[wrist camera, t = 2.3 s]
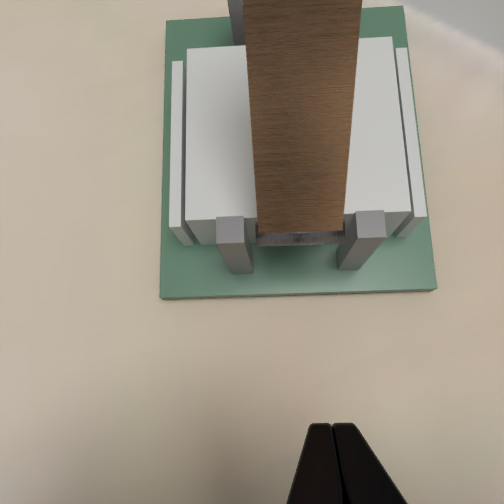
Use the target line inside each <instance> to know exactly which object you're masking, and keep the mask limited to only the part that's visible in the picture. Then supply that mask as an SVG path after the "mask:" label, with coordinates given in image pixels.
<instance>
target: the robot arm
mask: <svg viewBox="0 0 504 504" xmlns="http://www.w3.org/2000/svg"><path fill="white" fill-rule="evenodd" d="M286 504H407V502H406V501H405V499H404V498H403V496H402V494H401V493H400V491H399V490H398V488H397V487H396V485H395V484H394V482H393V481H392V479H391V478H390V476H389V475H388V473H387V472H386V470H385V469H384V467H383V466H382V464H381V463H380V461H379V460H378V458H377V457H376V455H375V454H374V452H373V451H372V449H371V448H370V446H369V445H368V443H367V442H366V440H365V439H364V437H363V435H362V434H361V432H360V431H359V429H358V428H357V427H356V426H355V424H353V423H334V424H333V425H332V426H331V424H329V423H312V424H311V425H310V426H309V428H308V432H307V435H306V439H305V442H304V445H303V449H302V452H301V456H300V459H299V462H298V466H297V469H296V473H295V476H294V479H293V483H292V486H291V489H290V493H289V496H288V500H287V503H286Z"/></svg>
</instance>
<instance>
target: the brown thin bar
mask: <svg viewBox="0 0 504 504" xmlns="http://www.w3.org/2000/svg"><path fill="white" fill-rule="evenodd" d="M361 8H362V0H243V15H244V30H245V44H246V59H247V74H248V88H249V103H250V118H251V133H252V147H253V162H254V177H255V192H256V206H257V220H255V232H256V246H257V247H261V246H288V245H314V244H340V243H344V242H345V221H344V206H345V195H346V183H347V171H348V160H349V148H350V136H351V125H352V113H353V101H354V90H355V78H356V66H357V55H358V43H359V31H360V20H361Z"/></svg>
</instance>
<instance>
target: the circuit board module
mask: <svg viewBox="0 0 504 504" xmlns="http://www.w3.org/2000/svg"><path fill="white" fill-rule="evenodd" d="M228 7H229V14H230V17H217V18H201V19H185V20H170V21H166V49H165V92H164V135H163V178H162V220H161V263H160V298H161V299H163V300H173V299H204V298H235V297H266V296H296V295H327V294H358V293H389V292H420V291H433V290H435V289H437V283H436V274H435V266H434V258H433V249H432V241H431V233H430V225H429V216H428V208H427V200H426V191H425V183H424V175H423V167H422V158H421V150H420V142H419V133H418V125H417V117H416V109H415V100H414V92H413V84H412V75H411V67H410V59H409V51H408V42H407V34H406V26H405V17H404V9H403V6H390V7H374V8H361V20H360V31H359V43H358V55H357V66H356V78H355V90H354V101H353V113H352V125H351V136H350V148H349V160H348V171H347V183H346V195H345V206H344V221H345V242H344V243H340V244H314V245H288V246H261V247H257V246H256V232H255V220H257V206H256V192H255V177H254V162H253V147H252V133H251V118H250V103H249V88H248V74H247V59H246V44H245V30H244V15H243V0H228Z"/></svg>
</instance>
